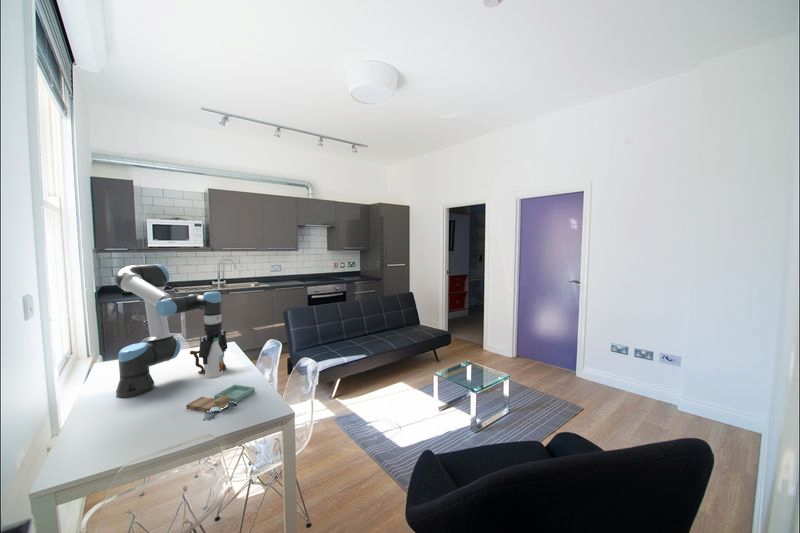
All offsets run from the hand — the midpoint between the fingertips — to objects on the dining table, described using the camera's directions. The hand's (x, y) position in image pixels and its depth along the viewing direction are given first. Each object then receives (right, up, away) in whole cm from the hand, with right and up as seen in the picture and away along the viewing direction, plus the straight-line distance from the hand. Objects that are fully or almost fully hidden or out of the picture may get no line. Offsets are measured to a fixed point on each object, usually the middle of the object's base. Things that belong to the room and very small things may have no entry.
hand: (214, 366), depth 160 cm
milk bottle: (0, -5, 0) cm, 5 cm away
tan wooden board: (+5, -14, -14) cm, 21 cm away
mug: (-19, -12, +27) cm, 35 cm away
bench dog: (+13, -14, -17) cm, 25 cm away
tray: (+13, -13, -4) cm, 19 cm away
